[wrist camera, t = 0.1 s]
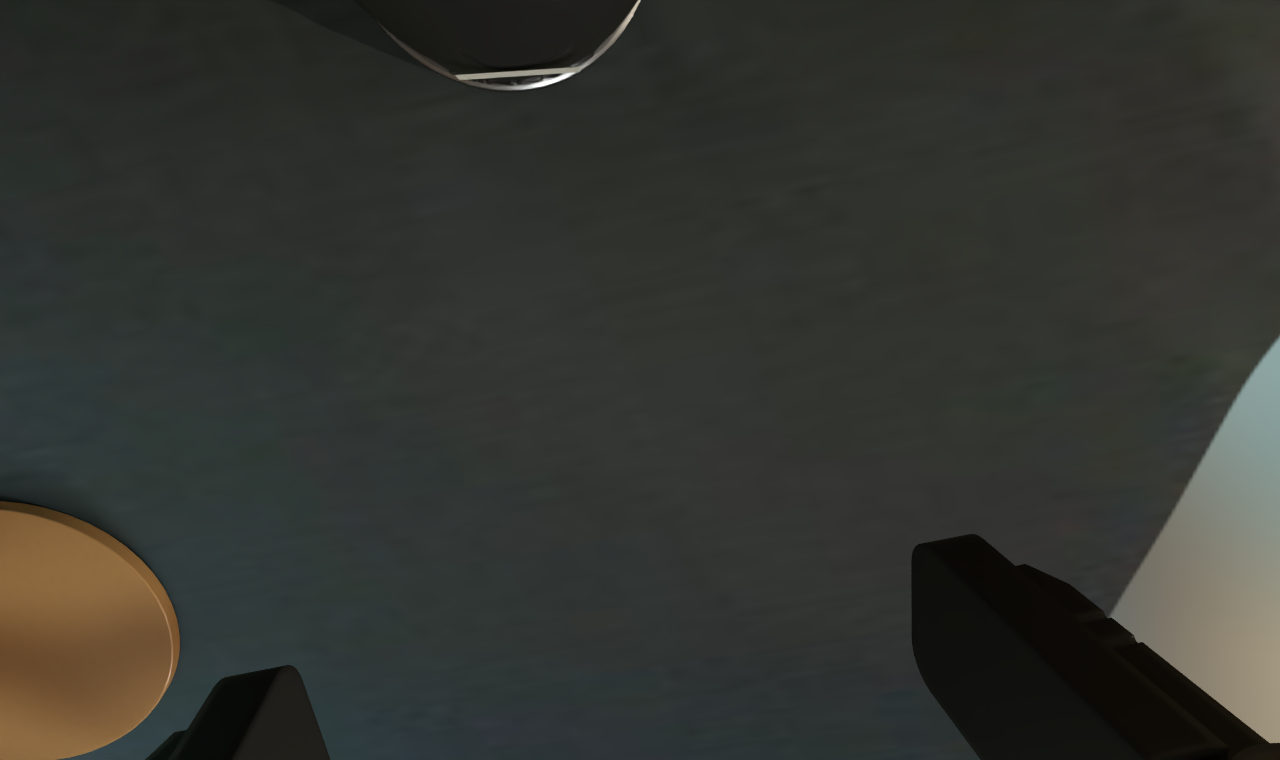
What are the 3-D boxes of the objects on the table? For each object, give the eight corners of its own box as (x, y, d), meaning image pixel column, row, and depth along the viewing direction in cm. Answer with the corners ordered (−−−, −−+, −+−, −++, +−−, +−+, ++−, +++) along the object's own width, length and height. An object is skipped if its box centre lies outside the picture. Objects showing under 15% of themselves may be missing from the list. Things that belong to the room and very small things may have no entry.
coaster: (-218, 531, 23) (-237, 540, 23) (120, 475, 24) (110, 482, 24) (-72, 775, 27) (-85, 789, 26) (219, 717, 28) (212, 729, 27)
